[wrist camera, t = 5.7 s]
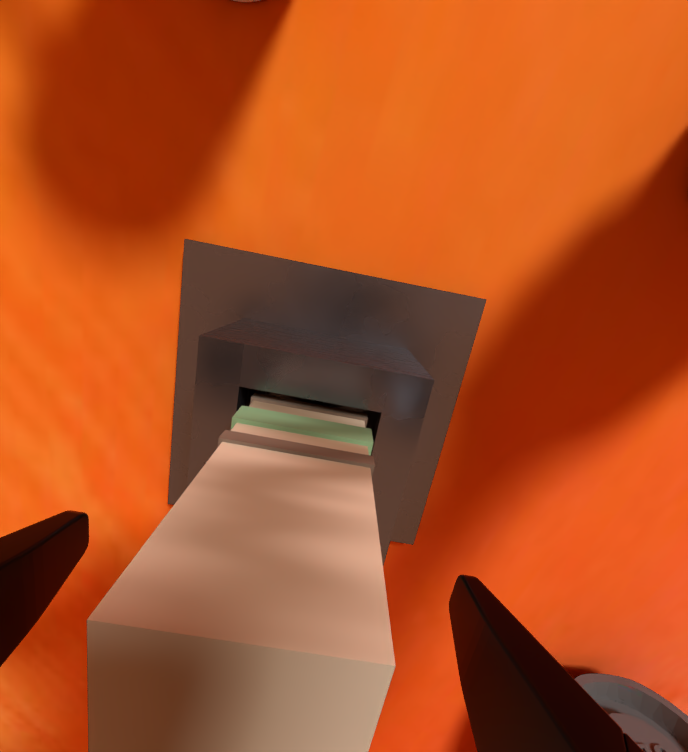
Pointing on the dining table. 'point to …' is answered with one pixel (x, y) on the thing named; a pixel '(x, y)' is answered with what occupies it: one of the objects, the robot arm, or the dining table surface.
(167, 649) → the column
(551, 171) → the dining table surface
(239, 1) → the mug
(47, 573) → the robot arm
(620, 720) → the bluetooth speaker
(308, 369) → the stand base
